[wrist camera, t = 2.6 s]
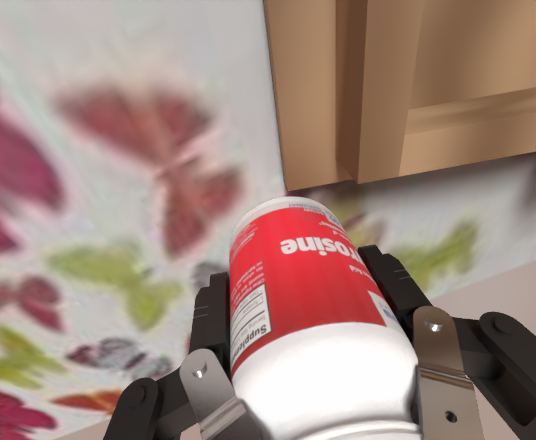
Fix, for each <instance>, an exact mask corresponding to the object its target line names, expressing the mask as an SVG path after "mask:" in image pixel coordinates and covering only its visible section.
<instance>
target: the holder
mask: <svg viewBox="0 0 536 440" xmlns="http://www.w3.org/2000/svg"><path fill="white" fill-rule="evenodd" d="M263 3H264V12H265V20H266V29H267V38H268V46H269V55H270V64H271V72H272V81H273V89H274V98H275V107H276V115H277V124H278V133H279V141H280V150H281V158H282V167H283V176H284V182H285V185H286V188H287V190H288V191H292V190H298V189H303V188H309V187H314V186H320V185H325V184H331V183H336V182H342V181H347V180H352V179H354V180H355V181H356V183H357V184H362V183H367V182H373V181H378V180H383V179H389V178H394V177H400V176H405V175H411V174H416V173H422V172H427V171H433V170H438V169H443V168H449V167H454V166H460V165H465V164H471V163H476V162H482V161H487V160H493V159H498V158H503V157H509V156H514V155H520V154H525V153H531V152H536V0H263Z"/></svg>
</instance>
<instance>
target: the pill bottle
mask: <svg viewBox="0 0 536 440" xmlns="http://www.w3.org/2000/svg"><path fill="white" fill-rule="evenodd" d="M229 265H230V268H229V269H230V367H231V368H230V378H231V379H230V383H231V385H232V387H233V389H234V391H235V394H236V396H237V398H238V399H239V400H240V401H241V402H242V404H243V406H244V407H245V409H246V411H247V413H248V415H249V417H250V418H251V420H252V422H253V424H254V426H255V428H256V429H257V431H258V433H259V435H260V437H261V439H262V440H423V439H422V435H421V433H420V426H419V425H417V424H414V423H413V421H412V418H411V415H410V412H411V407H412V403H413V398H414V394H415V387H416V376H417V365H418V359H417V356H416V354H415V351H414V349H413V347H412V345H411V343H410V341H409V339H408V338H407V336H406V334H405V333H404V331H403V329H402V327H401V326H400V324H399V322H398V321H397V319H396V317H395V316H394V314H393V312H392V310H391V309H390V307H389V305H388V304H387V302H386V300H385V298H384V297H383V295H382V293H381V292H380V290H379V288H378V287H377V285H376V283H375V281H374V280H373V278H372V276H371V275H370V273H369V271H368V269H367V268H366V266H365V264H364V263H363V261H362V259H361V257H360V256H359V254H358V252H357V251H356V249H355V247H354V246H353V244H352V242H351V241H350V239H349V237H348V236H347V234H346V232H345V231H344V229H343V227H342V226H341V224H340V222H339V221H338V219H337V218H336V217H335V215H334V214H333V213H332V212H331V211H330V210H329V209H328V208H326V207H325V206H324V205H322V204H320V203H318V202H316V201H314V200H311V199H308V198H303V197H296V196H287V197H279V198H274V199H271V200H268V201H266V202H263V203H261V204H259V205H258V206H256V207H254V208H253V209H251V210H250V211H249V212H248V213H247V214H245V215H244V216H243V218H242V219H241V220H240V221H239V222H238V224H237V226H236V227H235V229H234V231H233V234H232V237H231V241H230V251H229Z"/></svg>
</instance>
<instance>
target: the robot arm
mask: <svg viewBox="0 0 536 440" xmlns="http://www.w3.org/2000/svg"><path fill="white" fill-rule="evenodd" d="M358 254H359V256H360V257H361V259H362V261H363V263H364V264H365V266H366V268H367V269H368V271H369V273H370V275H371V276H372V278H373V280H374V281H375V283H376V285H377V287H378V288H379V290H380V292H381V293H382V295H383V297H384V298H385V300H386V302H387V304H388V305H389V307H390V309H391V310H392V312H393V314H394V316H395V317H396V319H397V321H398V322H399V324H400V326H401V327H402V329H403V331H404V333H405V334H406V336H407V338H408V339H409V341H410V343H411V345H412V347H413V349H414V351H415V354H416V356H417V359H418V365H417V376H416V387H415V394H414V398H413V403H412V407H411V412H410V415H411V418H412V421H413V423H414V424H417V425H419V426H420V433H421V435H422V439H423V440H485V439H484V434H483V429H482V424H481V420H480V415H479V410H478V405H477V400H476V395H475V390H474V386H473V383H474V385H475V386H476V387H477V388H478V389H479V390H480V392H481V393H482V394H483V395H484V397H485V398H486V399H487V400H488V401H489V403H490V404H491V405H492V406H493V408H494V409H495V410H496V411H497V412H498V413H499V415H500V416H501V417H502V418H503V420H504V421H505V422H506V423H507V424H508V426H509V427H510V428H511V429H512V431H513V432H514V433H515V434H516V435H517V437H518V438H519V439H520V440H536V336H535V335H534V334H533V333H531V332H530V331H529V330H528V329H527V328H525V327H524V326H523V325H522V324H521V323H520V322H518V321H517V320H515V319H514V318H512V317H510V316H508V315H506V314H503V313H499V312H487V313H485V314H483V315H482V316H481V317H480V319H479V320H473V319H462V318H455V317H451V316H450V315H449V314H448V313H446V312H445V311H443V310H441V309H439V308H437V307H434V306H433V305H432V304H431V303H430V302H429V300H428V299H427V298H426V296H425V295H424V294H423V292H422V291H421V290H420V288H419V287H418V286H417V284H416V283H415V281H414V280H413V279H412V278H411V277H410V275H409V273H408V272H407V271H406V270H405V268H404V267H403V265H402V264H401V263H400V261H399V260H398V259H396V258H395V257H393V256H392V255H390V254H389V253H388V254H382V253H381V252H380V250H379V249H378V247H377V246H376V245H369V246H364V247H359V248H358ZM194 308H195V310H194V315H193V317H194V318H193V324H192V332H191V341H190V349H189V353H188V356H187V357H186V358H185V359H184V361H183V362H182V364H181V366H180V367H179V368H178V369H177V370H175V371H174V372H172V373H170V374H168V375H166V376H165V377H163V378H161V379H159V380H157V381H154V380H153V379H151V378H141V379H138V380H136V381H134V382H132V383H131V384H130V385H129V386H128V387H127V388H126V389H125V390H124V391H123V393H122V394H121V396H120V398H119V400H118V403H117V405H116V408H115V410H114V413H113V415H112V418H111V420H110V423H109V426H108V428H107V431H106V433H105V436H104V438H103V440H180V435H181V432H183V431H184V430H186V429H187V428H189V427H191V426H193V425H194V424H196V423H198V424H199V426H200V430H201V431H200V433H201V437H202V440H262V439H261V437H260V435H259V433H258V431H257V429H256V428H255V426H254V424H253V422H252V420H251V418H250V417H249V415H248V413H247V411H246V409H245V407H244V406H243V404H242V402H241V401H240V400H239V399H238V398H237V396H236V394H235V391H234V389H233V387H232V385H231V383H230V379H231V378H230V368H231V367H230V280H229V277H228V274H227V272H222V273H217V274H211V276H210V286H209V287H204V288H201V289H200V291H199V293H198V294H197V296H196V298H195V307H194ZM465 375H467V376H468V377H469V378H470V379H468V378H466V376H465ZM472 382H473V383H472Z"/></svg>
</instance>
